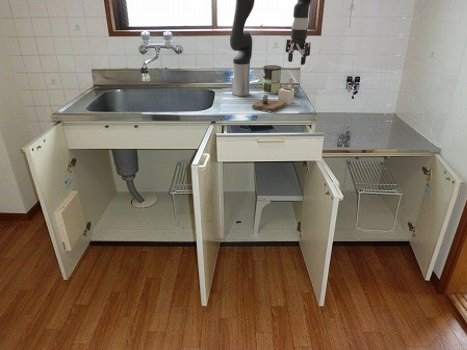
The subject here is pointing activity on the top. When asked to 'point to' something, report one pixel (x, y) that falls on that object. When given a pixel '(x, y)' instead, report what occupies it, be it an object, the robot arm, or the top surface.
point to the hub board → (269, 105)
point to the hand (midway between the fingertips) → (296, 63)
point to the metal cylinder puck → (265, 99)
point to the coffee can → (271, 79)
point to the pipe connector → (290, 84)
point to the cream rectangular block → (286, 95)
